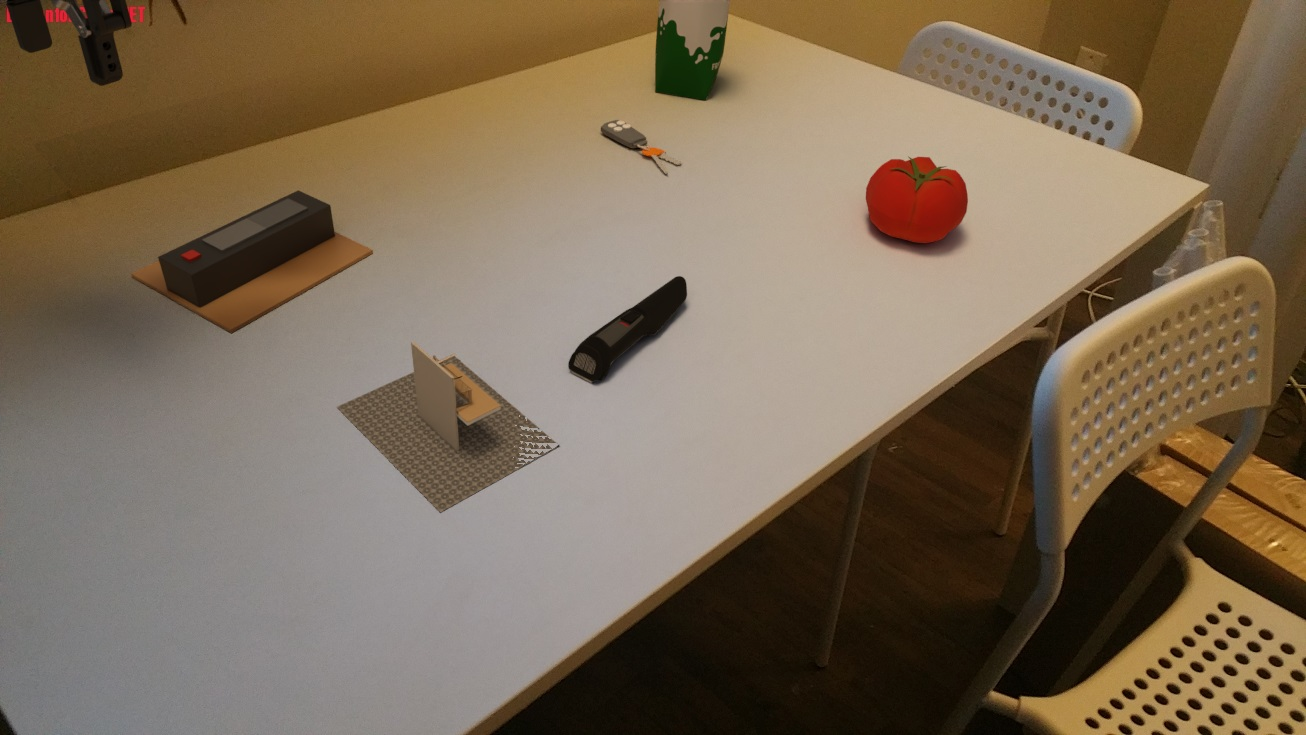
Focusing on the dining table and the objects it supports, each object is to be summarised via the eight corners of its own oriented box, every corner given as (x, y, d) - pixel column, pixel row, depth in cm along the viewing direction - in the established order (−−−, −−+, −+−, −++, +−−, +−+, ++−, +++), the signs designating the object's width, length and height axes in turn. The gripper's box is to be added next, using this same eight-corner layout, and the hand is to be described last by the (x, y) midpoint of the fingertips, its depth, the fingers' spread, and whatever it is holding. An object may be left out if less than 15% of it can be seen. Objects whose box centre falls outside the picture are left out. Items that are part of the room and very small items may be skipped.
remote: (199, 308, 89) (190, 272, 86) (167, 289, 91) (156, 253, 88) (335, 236, 100) (330, 202, 97) (303, 220, 101) (297, 187, 99)
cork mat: (131, 277, 92) (130, 273, 92) (277, 207, 104) (276, 203, 104) (231, 333, 87) (230, 329, 87) (373, 253, 98) (372, 249, 98)
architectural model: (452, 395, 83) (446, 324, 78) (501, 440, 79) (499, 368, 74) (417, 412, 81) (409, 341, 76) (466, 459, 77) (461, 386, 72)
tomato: (972, 229, 111) (991, 169, 106) (927, 266, 104) (945, 204, 99) (888, 194, 116) (903, 136, 111) (840, 228, 109) (854, 167, 104)
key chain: (596, 134, 123) (597, 123, 122) (619, 127, 125) (620, 116, 124) (665, 176, 115) (666, 164, 114) (688, 167, 117) (690, 156, 116)
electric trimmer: (696, 309, 95) (699, 282, 93) (598, 387, 85) (600, 358, 83) (664, 295, 97) (667, 267, 95) (564, 369, 86) (565, 340, 84)
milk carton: (661, 69, 140) (673, -80, 127) (723, 80, 139) (742, -70, 126) (646, 93, 133) (658, -62, 120) (712, 104, 132) (730, -51, 119)
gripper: (-117, -187, 65) (-33, 52, 75) (14, -141, 60) (85, 109, 70) (-5, -198, 70) (60, 27, 80) (125, -157, 65) (177, 78, 75)
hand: (72, 65), depth 75 cm, fingers open, 8 cm apart
